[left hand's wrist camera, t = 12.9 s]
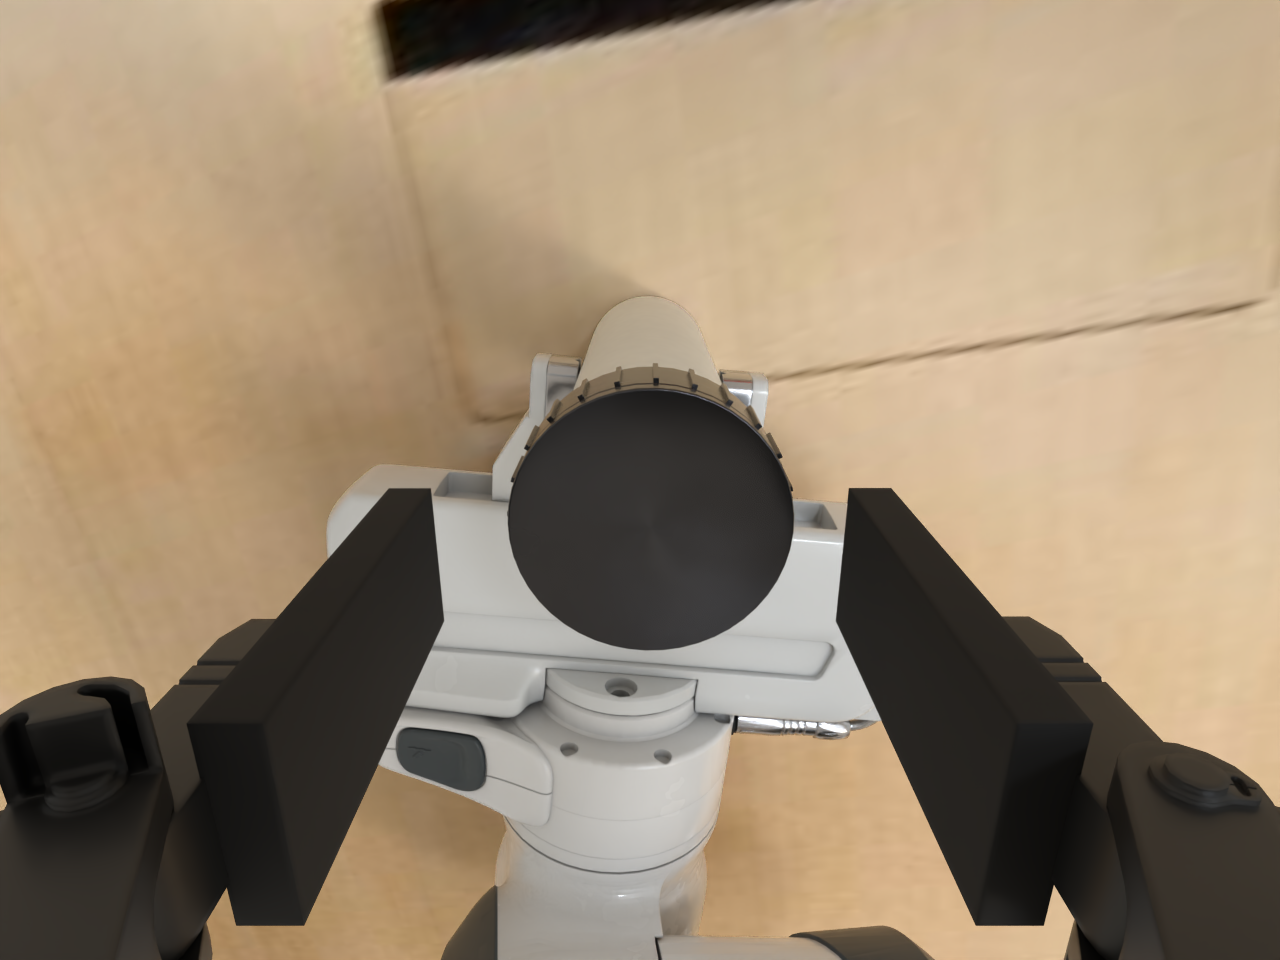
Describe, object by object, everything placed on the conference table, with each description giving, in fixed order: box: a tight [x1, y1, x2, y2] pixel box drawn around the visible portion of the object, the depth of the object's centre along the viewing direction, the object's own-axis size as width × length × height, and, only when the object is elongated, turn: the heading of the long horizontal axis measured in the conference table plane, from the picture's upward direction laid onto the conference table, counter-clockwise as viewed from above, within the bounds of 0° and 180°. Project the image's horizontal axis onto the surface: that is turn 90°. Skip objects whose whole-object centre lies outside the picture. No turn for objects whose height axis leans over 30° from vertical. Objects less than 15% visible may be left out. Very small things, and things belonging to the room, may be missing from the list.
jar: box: [574, 296, 722, 390], centre depth 23 cm, size 5×5×17 cm
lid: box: [507, 363, 794, 651], centre depth 16 cm, size 6×6×2 cm
